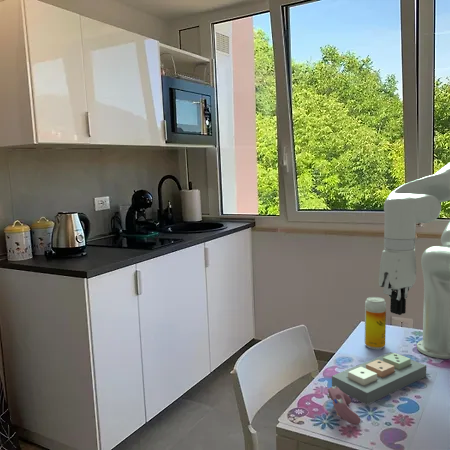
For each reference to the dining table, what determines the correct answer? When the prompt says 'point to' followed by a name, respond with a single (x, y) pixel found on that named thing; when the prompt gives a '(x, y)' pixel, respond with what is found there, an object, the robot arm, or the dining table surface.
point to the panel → (379, 381)
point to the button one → (362, 376)
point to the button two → (380, 368)
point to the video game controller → (342, 405)
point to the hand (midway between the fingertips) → (397, 312)
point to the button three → (397, 361)
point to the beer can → (375, 322)
